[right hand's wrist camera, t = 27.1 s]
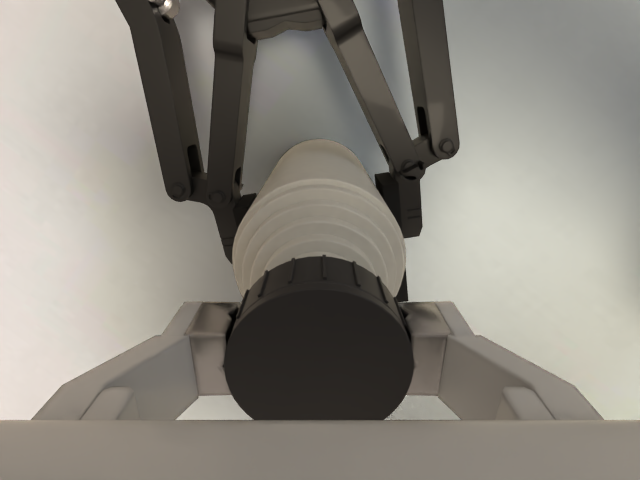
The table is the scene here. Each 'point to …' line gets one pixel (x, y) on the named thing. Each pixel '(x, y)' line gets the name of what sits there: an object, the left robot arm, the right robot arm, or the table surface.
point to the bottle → (319, 217)
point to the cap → (319, 344)
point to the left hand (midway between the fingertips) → (332, 297)
